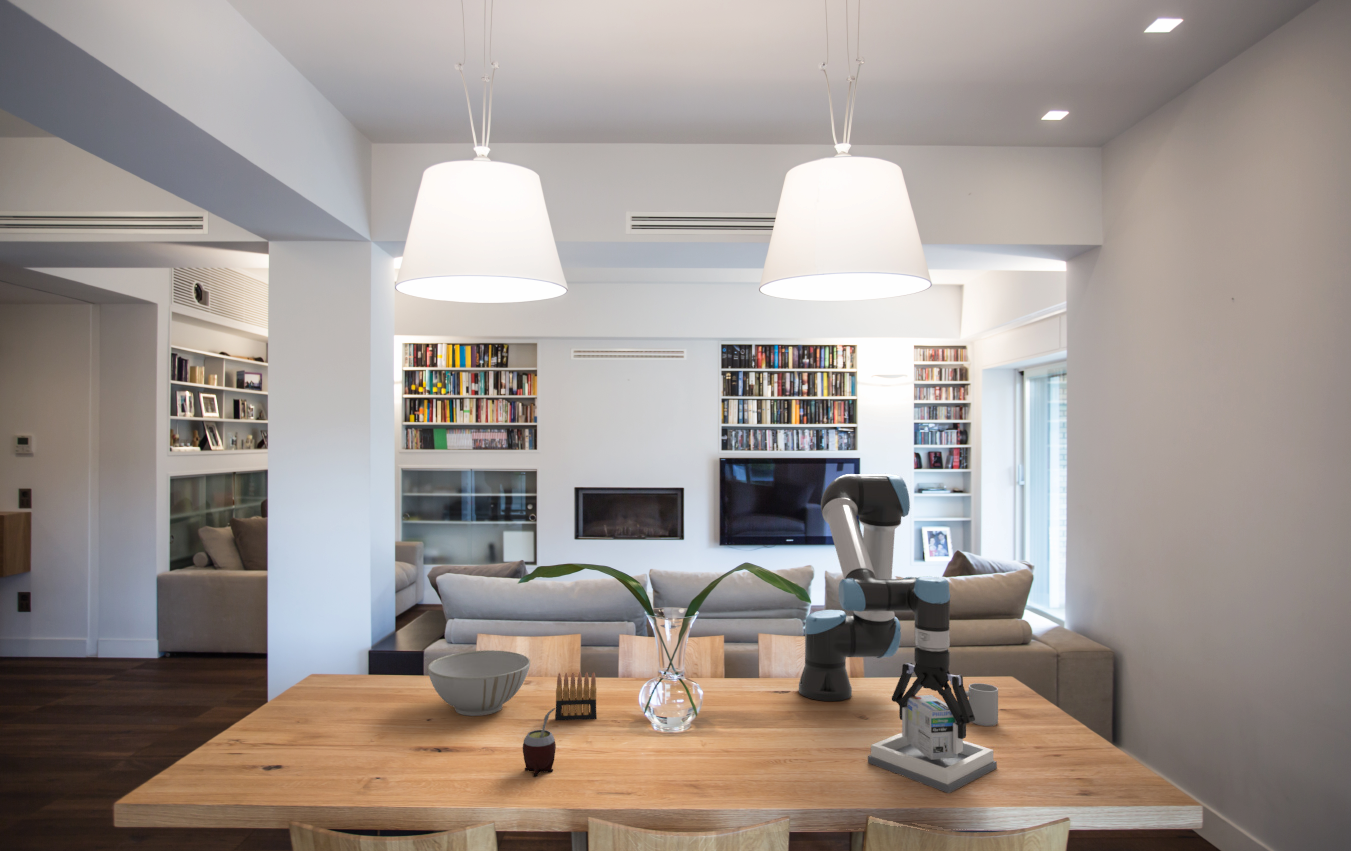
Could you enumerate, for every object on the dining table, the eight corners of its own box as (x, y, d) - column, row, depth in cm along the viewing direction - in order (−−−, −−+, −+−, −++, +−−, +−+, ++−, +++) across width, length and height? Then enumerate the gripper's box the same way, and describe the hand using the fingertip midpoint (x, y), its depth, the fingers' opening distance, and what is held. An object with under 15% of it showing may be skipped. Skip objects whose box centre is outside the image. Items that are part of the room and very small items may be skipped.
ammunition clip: (555, 720, 200) (555, 674, 201) (555, 718, 202) (555, 671, 202) (596, 719, 202) (597, 672, 202) (596, 716, 204) (597, 670, 204)
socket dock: (867, 762, 176) (867, 744, 176) (917, 741, 188) (917, 725, 189) (948, 793, 160) (948, 773, 160) (996, 768, 173) (996, 750, 173)
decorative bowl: (517, 727, 196) (518, 678, 196) (411, 725, 196) (412, 676, 196) (538, 693, 222) (538, 651, 223) (445, 691, 223) (446, 649, 223)
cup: (1002, 727, 199) (1002, 691, 200) (963, 726, 200) (963, 691, 200) (992, 717, 207) (992, 683, 207) (954, 716, 207) (954, 682, 207)
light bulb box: (958, 758, 170) (958, 708, 170) (931, 761, 169) (931, 710, 169) (932, 740, 181) (932, 693, 181) (905, 742, 179) (906, 695, 179)
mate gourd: (528, 763, 173) (529, 695, 173) (562, 765, 172) (563, 697, 173) (517, 777, 166) (518, 706, 166) (553, 779, 165) (554, 708, 165)
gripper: (876, 638, 182) (876, 731, 181) (973, 661, 163) (973, 765, 163) (895, 634, 187) (894, 724, 186) (991, 655, 168) (991, 756, 168)
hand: (931, 743), depth 175 cm, fingers closed on light bulb box, 12 cm apart
